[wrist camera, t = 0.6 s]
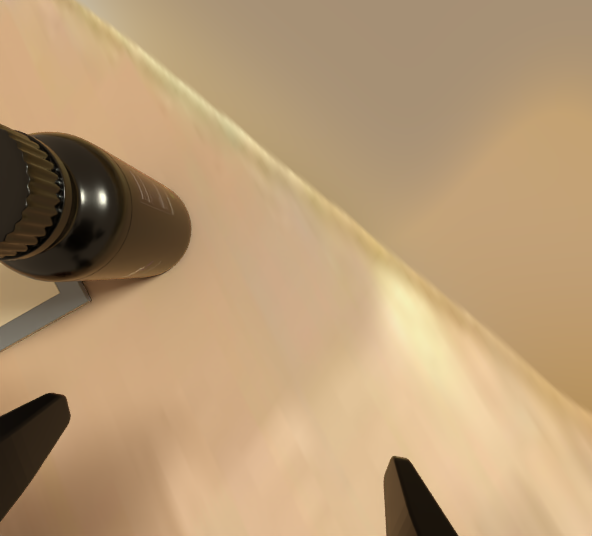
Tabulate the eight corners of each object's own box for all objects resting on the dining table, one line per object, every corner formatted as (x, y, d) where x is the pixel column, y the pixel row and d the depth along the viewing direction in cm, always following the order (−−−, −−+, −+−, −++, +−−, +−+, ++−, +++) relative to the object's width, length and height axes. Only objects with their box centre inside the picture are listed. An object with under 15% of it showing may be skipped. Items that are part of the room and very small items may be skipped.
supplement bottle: (150, 297, 22) (-41, 333, 10) (84, 232, 22) (-182, 191, 10) (215, 227, 22) (97, 178, 10) (147, 162, 22) (-50, 37, 10)
